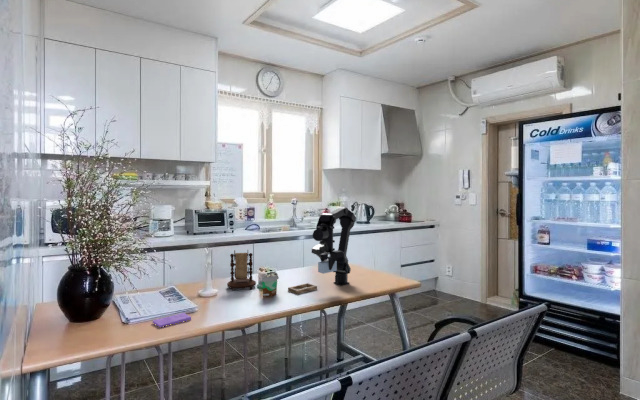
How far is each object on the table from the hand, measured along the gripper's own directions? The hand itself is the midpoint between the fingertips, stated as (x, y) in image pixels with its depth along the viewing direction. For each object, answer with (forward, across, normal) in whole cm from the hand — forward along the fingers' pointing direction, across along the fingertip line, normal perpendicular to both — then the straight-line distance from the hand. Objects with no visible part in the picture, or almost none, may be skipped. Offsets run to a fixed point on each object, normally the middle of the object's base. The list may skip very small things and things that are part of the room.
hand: (327, 269), depth 187 cm
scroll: (+12, -35, -29) cm, 47 cm away
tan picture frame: (+12, -10, -8) cm, 17 cm away
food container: (+12, -14, -24) cm, 30 cm away
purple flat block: (+12, -9, -74) cm, 76 cm away
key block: (+1, 0, 0) cm, 1 cm away
